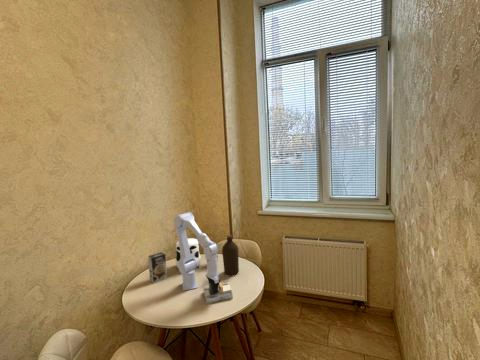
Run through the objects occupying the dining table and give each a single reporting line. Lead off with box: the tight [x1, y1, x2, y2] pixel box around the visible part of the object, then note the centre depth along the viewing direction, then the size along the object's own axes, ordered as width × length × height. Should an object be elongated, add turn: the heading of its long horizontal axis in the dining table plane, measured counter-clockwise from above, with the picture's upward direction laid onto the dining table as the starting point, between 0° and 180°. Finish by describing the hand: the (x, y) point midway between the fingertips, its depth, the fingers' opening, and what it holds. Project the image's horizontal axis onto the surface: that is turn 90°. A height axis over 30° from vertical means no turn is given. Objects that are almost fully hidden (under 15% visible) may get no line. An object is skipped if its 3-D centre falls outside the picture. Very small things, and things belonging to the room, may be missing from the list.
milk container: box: [175, 237, 202, 269], centre depth 179 cm, size 17×17×18 cm
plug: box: [208, 282, 217, 295], centre depth 139 cm, size 4×4×8 cm
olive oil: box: [221, 234, 240, 277], centre depth 165 cm, size 11×11×25 cm
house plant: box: [215, 241, 223, 262], centre depth 179 cm, size 14×14×16 cm
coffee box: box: [147, 252, 168, 284], centre depth 162 cm, size 9×6×16 cm
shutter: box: [219, 281, 233, 293], centre depth 140 cm, size 6×6×3 cm
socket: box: [202, 283, 234, 305], centre depth 139 cm, size 12×14×3 cm
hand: (213, 290), depth 139 cm, fingers open, 5 cm apart
